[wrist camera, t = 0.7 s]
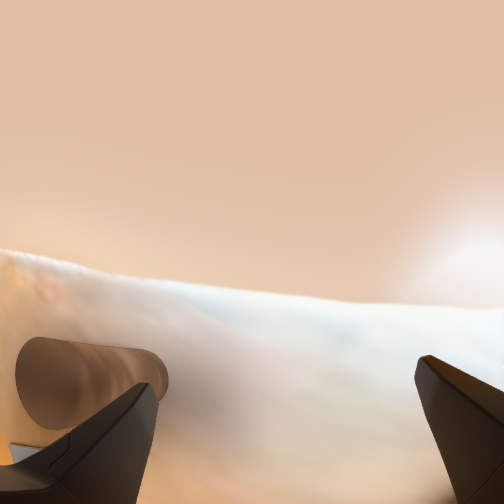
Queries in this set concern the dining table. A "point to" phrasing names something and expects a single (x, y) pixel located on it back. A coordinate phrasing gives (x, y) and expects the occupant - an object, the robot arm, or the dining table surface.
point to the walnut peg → (80, 379)
